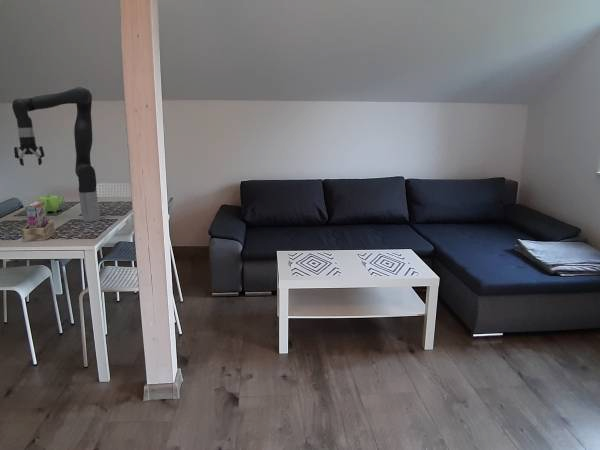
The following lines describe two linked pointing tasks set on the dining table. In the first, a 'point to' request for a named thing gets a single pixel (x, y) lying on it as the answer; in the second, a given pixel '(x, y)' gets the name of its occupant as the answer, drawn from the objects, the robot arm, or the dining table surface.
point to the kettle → (51, 202)
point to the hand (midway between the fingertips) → (31, 165)
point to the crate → (38, 232)
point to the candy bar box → (36, 215)
